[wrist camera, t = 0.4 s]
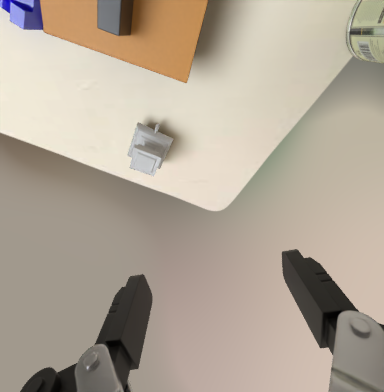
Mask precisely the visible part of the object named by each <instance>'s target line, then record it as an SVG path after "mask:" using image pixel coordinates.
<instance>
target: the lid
mask: <svg viewBox="0 0 384 392" xmlns="http://www.w3.org/2000/svg"><path fill="white" fill-rule="evenodd" d="M207 4H208V0H40V5H41V12H42V20H43V28H44V32H45V33H47V34H50V35H53V36H56V37H59V38H61V39H64V40H67V41H70V42H73V43H75V44H78V45H81V46H84V47H87V48H89V49H92V50H95V51H98V52H101V53H103V54H106V55H109V56H112V57H115V58H117V59H120V60H123V61H126V62H129V63H131V64H134V65H137V66H140V67H143V68H145V69H148V70H151V71H154V72H157V73H159V74H162V75H165V76H168V77H171V78H173V79H176V80H179V81H182V82H185V83H187V80H188V77H189V73H190V69H191V65H192V61H193V57H194V54H195V50H196V46H197V42H198V38H199V34H200V31H201V27H202V23H203V19H204V15H205V12H206V8H207Z"/></svg>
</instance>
